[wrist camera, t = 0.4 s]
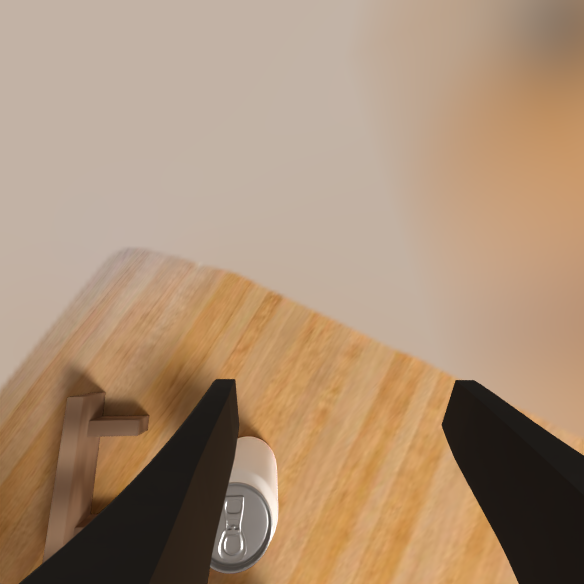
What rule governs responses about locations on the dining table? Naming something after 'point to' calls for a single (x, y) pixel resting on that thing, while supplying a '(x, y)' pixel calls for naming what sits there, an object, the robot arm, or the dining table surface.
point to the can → (247, 508)
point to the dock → (81, 464)
